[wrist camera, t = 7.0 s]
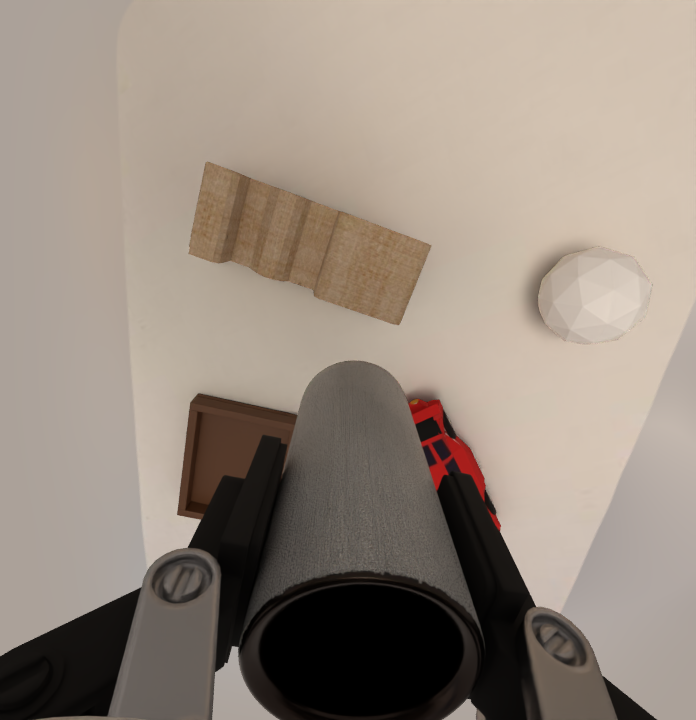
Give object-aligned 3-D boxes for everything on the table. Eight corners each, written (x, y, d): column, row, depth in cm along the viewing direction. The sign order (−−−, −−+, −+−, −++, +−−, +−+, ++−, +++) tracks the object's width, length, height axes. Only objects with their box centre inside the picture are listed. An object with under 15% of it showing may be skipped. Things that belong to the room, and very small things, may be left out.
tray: (198, 393, 39) (190, 402, 37) (302, 415, 40) (299, 426, 38) (184, 501, 43) (177, 515, 41) (278, 520, 44) (275, 534, 42)
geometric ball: (555, 262, 37) (636, 212, 30) (601, 334, 36) (696, 302, 29) (501, 293, 34) (575, 246, 27) (550, 371, 34) (640, 346, 26)
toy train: (219, 167, 32) (164, 145, 23) (411, 239, 34) (434, 246, 24) (204, 234, 34) (148, 240, 24) (387, 299, 36) (401, 327, 26)
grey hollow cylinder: (318, 463, 18) (282, 759, 8) (287, 374, 16) (197, 604, 7) (416, 441, 17) (502, 724, 8) (393, 347, 16) (465, 550, 6)
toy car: (428, 556, 46) (437, 595, 41) (338, 427, 40) (336, 454, 35) (511, 519, 44) (530, 555, 39) (429, 378, 38) (441, 400, 33)
